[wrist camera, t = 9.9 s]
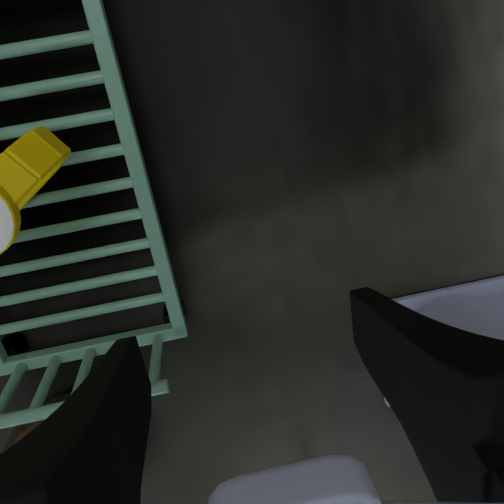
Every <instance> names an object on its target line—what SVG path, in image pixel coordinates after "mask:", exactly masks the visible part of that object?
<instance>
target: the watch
mask: <svg viewBox="0 0 504 504" xmlns="http://www.w3.org/2000/svg"><path fill="white" fill-rule="evenodd" d="M70 154H71V149H70V148H69V147H68V146H66V145H65V144H64V143H63V142H62V141H61V140H59V139H58V138H57V137H56V136H55V135H54V134H53V133H51V132H50V131H49V130H48V129H47V128H46V127H44V126H38V127H36V128H34V129H32V130H30V131H28V132H27V133H25V134H24V135H23V136H22V137H20V138H19V139H18V140H17V141H15V142H14V143H13V144H12V145H10V146H9V147H8V148H6V149H5V151H4V152H2V153H1V154H0V254H1V253H3V252H4V251H5V250H7V249H8V248H9V246H10V245H11V244H12V243H13V242H14V240H15V239H16V237H17V236H18V234H19V230H20V225H21V216H20V210H21V209H22V208H23V207H24V206H25V205H26V204H27V203H28V202H29V200H30V199H31V198H32V197H33V196H34V195H35V194H36V193H37V192H38V191H39V190H40V189H41V188H42V186H43V185H44V184H45V183H46V182H47V181H48V180H49V179H50V178H51V177H52V176H53V175H54V173H55V172H56V171H57V170H58V169H59V168H60V167H61V165H62V164H63V163H64V162H65V161H66V160H67V158H68V157H69V155H70Z"/></svg>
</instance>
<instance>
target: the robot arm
mask: <svg viewBox="0 0 504 504" xmlns="http://www.w3.org/2000/svg"><path fill="white" fill-rule="evenodd" d="M350 299H351V311H352V323H353V335H354V342H355V345H356V347H357V349H358V352H359V354H360V356H361V358H362V361H363V363H364V365H365V367H366V368H367V370H368V372H369V373H370V375H371V376H372V378H373V380H374V381H375V383H376V385H377V386H378V388H379V389H380V391H381V392H382V394H383V396H384V401H385V403H386V405H387V406H388V407H391V408H392V410H393V411H394V413H395V415H396V416H397V418H398V420H399V421H400V423H401V425H402V427H403V428H404V430H405V432H406V435H407V437H408V439H409V441H410V443H411V445H412V447H413V449H414V451H415V453H416V455H417V457H418V459H419V462H420V464H421V466H422V468H423V470H424V472H425V474H426V477H427V479H428V481H429V483H430V485H431V488H432V490H433V492H434V495H435V497H436V499H437V501H438V502H427V501H381V500H380V498H379V496H378V493H377V491H376V489H375V486H374V484H373V482H372V480H371V477H370V475H369V473H368V471H367V469H366V467H365V465H364V463H363V461H360V460H358V459H356V458H354V457H352V456H350V455H348V454H335V455H324V456H319V457H315V458H310V459H306V460H302V461H297V462H293V463H289V464H284V465H280V466H276V467H271V468H267V469H262V470H258V471H254V472H249V473H245V474H241V475H238V476H236V477H233V478H231V479H229V480H227V481H224V482H222V483H221V484H220V485H219V486H218V487H217V488H216V489H215V490H214V492H213V493H212V494H211V495H210V496H209V497H208V504H504V275H502V276H498V277H493V278H488V279H483V280H479V281H474V282H469V283H464V284H460V285H455V286H450V287H446V288H441V289H436V290H431V291H427V292H422V293H417V294H412V295H408V296H403V297H398V298H393V299H390V298H388V297H386V296H384V295H382V294H381V293H379V292H377V291H375V290H373V289H371V288H369V287H365V288H360V289H356V290H351V291H350ZM150 418H151V382H150V379H149V376H148V373H147V370H146V367H145V364H144V360H143V357H142V354H141V351H140V348H139V345H138V342H137V338H136V336H131V337H126V338H121V339H117V340H116V341H115V342H114V344H113V345H112V346H111V347H110V349H109V350H108V351H107V352H106V354H105V355H104V356H103V357H102V359H101V360H100V361H99V363H98V364H97V365H96V366H95V367H94V369H93V370H92V371H91V372H90V374H89V375H88V376H87V377H86V378H85V380H84V381H83V382H82V383H81V384H80V385H79V386H78V387H77V388H76V390H75V391H74V392H73V393H72V394H71V395H70V396H69V397H68V398H67V399H66V400H65V401H64V402H63V403H62V404H61V405H60V406H59V407H58V408H57V409H56V410H55V411H54V412H53V413H52V414H51V415H50V416H49V417H48V418H47V419H45V420H44V421H43V422H42V423H41V424H40V425H38V426H37V427H36V428H35V429H33V430H32V431H31V432H30V433H28V434H27V435H26V436H25V437H23V438H22V439H21V440H19V441H18V442H17V443H16V444H14V445H13V446H11V447H10V448H9V449H7V450H6V451H4V452H3V453H1V454H0V504H140V496H141V481H142V472H143V466H144V459H145V452H146V446H147V439H148V432H149V425H150Z"/></svg>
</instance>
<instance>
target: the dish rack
mask: <svg viewBox="0 0 504 504" xmlns="http://www.w3.org/2000/svg"><path fill="white" fill-rule="evenodd" d="M76 1H78V2H80V3H82V4H83V8H84V12H85V15H86V19H87V23H88V26H89V30H85V31H80V32H74V33H68V34H62V35H56V36H50V37H44V38H39V39H33V40H27V41H21V42H15V43H9V44H3V45H0V60H1V59H7V58H13V57H18V56H24V55H30V54H36V53H42V52H47V51H53V50H59V49H65V48H70V47H76V46H82V45H88V44H94V48H95V51H96V55H97V59H98V62H99V66H100V70H99V71H93V72H87V73H82V74H76V75H70V76H65V77H59V78H53V79H48V80H42V81H36V82H31V83H25V84H19V85H14V86H8V87H2V88H0V101H6V100H11V99H17V98H23V97H28V96H34V95H40V94H45V93H51V92H57V91H62V90H68V89H73V88H79V87H85V86H90V85H96V84H102V83H104V84H105V88H106V91H107V95H108V98H109V102H110V106H111V108H108V109H102V110H97V111H91V112H86V113H80V114H75V115H69V116H64V117H58V118H53V119H47V120H42V121H36V122H31V123H25V124H20V125H14V126H9V127H3V128H0V141H2V140H8V139H13V138H19V137H22V136H23V135H24V134H25V133H27V132H28V131H30V130H32V129H34V128H36V127H38V126H44V127H46V128H47V129H48V130H49V131H50V132H52V131H57V130H63V129H68V128H73V127H79V126H84V125H90V124H95V123H101V122H106V121H112V120H115V124H116V127H117V131H118V135H119V138H120V142H121V143H120V144H115V145H109V146H104V147H98V148H93V149H88V150H82V151H77V152H72V153H71V154H70V155H69V157H68V158H67V160H66V161H65V162H64V163H63V164H62V165H61V167H62V166H67V165H72V164H78V163H83V162H88V161H94V160H99V159H104V158H110V157H115V156H120V155H124V156H125V160H126V163H127V167H128V171H129V174H130V177H126V178H120V179H115V180H110V181H104V182H99V183H94V184H89V185H83V186H78V187H73V188H68V189H62V190H57V191H52V192H46V193H41V194H36V195H34V196H33V197H32V198H31V199H30V200H29V202H28V203H27V204H26V205H25V206H24V207H23V208H22V209H24V208H29V207H34V206H39V205H44V204H50V203H55V202H60V201H65V200H71V199H76V198H81V197H86V196H92V195H97V194H102V193H107V192H113V191H118V190H123V189H128V188H133V189H134V192H135V196H136V200H137V203H138V207H139V208H136V209H131V210H126V211H120V212H115V213H110V214H105V215H100V216H95V217H89V218H84V219H79V220H74V221H69V222H64V223H58V224H53V225H48V226H43V227H38V228H33V229H28V230H22V231H19V234H18V236H17V237H16V239H15V240H14V242H13V243H18V242H23V241H29V240H34V239H39V238H44V237H49V236H54V235H59V234H64V233H70V232H75V231H80V230H85V229H90V228H95V227H100V226H106V225H111V224H116V223H121V222H126V221H131V220H136V219H141V218H142V221H143V225H144V229H145V232H146V236H147V238H142V239H137V240H132V241H127V242H122V243H117V244H111V245H106V246H101V247H96V248H91V249H86V250H81V251H76V252H71V253H66V254H61V255H56V256H51V257H46V258H41V259H36V260H30V261H25V262H20V263H15V264H10V265H5V266H0V277H5V276H10V275H15V274H20V273H25V272H30V271H35V270H40V269H45V268H50V267H55V266H60V265H65V264H70V263H75V262H80V261H85V260H90V259H95V258H100V257H105V256H110V255H115V254H120V253H125V252H130V251H135V250H140V249H145V248H150V250H151V254H152V257H153V261H154V266H149V267H144V268H139V269H134V270H129V271H124V272H119V273H114V274H109V275H104V276H99V277H94V278H90V279H85V280H80V281H75V282H70V283H65V284H60V285H55V286H50V287H45V288H40V289H35V290H30V291H25V292H20V293H15V294H10V295H5V296H0V307H3V306H8V305H13V304H18V303H23V302H28V301H33V300H37V299H42V298H47V297H52V296H57V295H62V294H67V293H72V292H77V291H82V290H87V289H92V288H97V287H102V286H107V285H112V284H117V283H121V282H126V281H131V280H136V279H141V278H146V277H151V276H156V275H157V276H158V279H159V283H160V286H161V290H162V292H159V293H154V294H149V295H144V296H139V297H134V298H129V299H124V300H119V301H115V302H110V303H105V304H100V305H95V306H90V307H85V308H80V309H75V310H71V311H66V312H61V313H56V314H51V315H46V316H41V317H36V318H31V319H27V320H22V321H17V322H12V323H7V324H2V325H0V335H4V334H9V333H13V332H18V331H23V330H28V329H33V328H38V327H43V326H47V325H52V324H57V323H62V322H67V321H72V320H77V319H81V318H86V317H91V316H96V315H101V314H106V313H111V312H115V311H120V310H125V309H130V308H135V307H140V306H145V305H150V304H154V303H159V302H164V301H165V305H164V316H163V318H164V321H165V324H162V325H157V326H152V327H147V328H142V329H138V330H133V331H128V332H123V333H118V334H114V335H109V336H104V337H99V338H94V339H90V340H85V341H80V342H75V343H70V344H66V345H61V346H56V347H51V348H46V349H42V350H37V351H32V352H27V350H28V345H27V343H26V341H25V339H24V336H23V334H17V335H12V336H7V337H4V338H3V340H2V341H1V340H0V376H4V375H8V374H12V375H11V377H10V378H9V380H8V382H7V384H6V386H5V387H4V389H3V391H2V393H1V395H0V429H4V428H9V427H13V426H18V425H22V424H27V423H32V422H36V421H41V420H45V419H47V418H48V417H49V416H50V415H51V414H52V413H53V412H54V411H55V410H56V409H57V408H58V407H59V406H60V405H61V404H62V403H63V402H64V401H61V402H56V403H52V404H47V405H43V404H44V401H45V399H46V396H47V394H48V392H49V389H50V387H51V384H52V382H53V380H54V377H55V375H56V372H57V370H58V368H59V365H60V364H61V363H65V362H70V361H75V360H80V359H83V360H82V363H81V366H80V369H79V372H78V375H77V377H76V380H75V383H74V386H73V389H72V392H71V394H72V393H73V392H74V391H75V390H76V388H77V387H78V386H79V385H80V384H81V383H82V382H83V381H84V380H85V378H86V377H87V376H88V375H89V373H90V370H91V366H92V363H93V360H94V357H95V356H98V355H103V354H106V352H107V351H108V350H109V349H110V347H111V346H112V345H113V344H114V342H115V341H116V340H117V339H121V338H126V337H131V336H136V338H137V342H138V345H139V347H141V346H146V345H151V344H152V352H151V361H150V369H149V379H150V382H151V396H156V395H161V394H165V393H169V392H170V384H169V381H168V379H163V380H160V368H161V357H162V345H163V342H165V341H170V340H174V339H179V338H184V337H187V336H188V328H187V324H186V313H185V310H184V306H183V302H182V301H180V297H179V293H178V289H177V285H176V282H175V278H174V274H173V270H172V266H171V262H170V259H169V255H168V251H167V247H166V243H165V239H164V236H163V232H162V228H161V224H160V220H159V216H158V212H157V209H156V205H155V201H154V197H153V193H152V189H151V186H150V182H149V178H148V174H147V170H146V166H145V162H144V159H143V155H142V151H141V147H140V143H139V139H138V136H137V132H136V128H135V124H134V120H133V116H132V112H131V109H130V105H129V101H128V97H127V93H126V89H125V86H124V82H123V78H122V74H121V70H120V66H119V62H118V59H117V55H116V51H115V47H114V43H113V39H112V36H111V32H110V28H109V24H108V20H107V16H106V13H105V9H104V5H103V1H102V0H76ZM13 243H12V244H13ZM26 352H27V353H26ZM46 366H48V367H47V369H46V371H45V373H44V375H43V378H42V380H41V382H40V384H39V386H38V389H37V391H36V393H35V395H34V397H33V400H32V402H31V404H30V406H29V408H28V409H24V410H19V411H15V412H10V413H5V414H3V413H4V411H5V410H6V408H7V406H8V404H9V402H10V400H11V398H12V396H13V394H14V392H15V390H16V388H17V386H18V384H19V383H20V381H21V379H22V377H23V375H24V373H25V371H27V370H32V369H37V368H42V367H46Z"/></svg>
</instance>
